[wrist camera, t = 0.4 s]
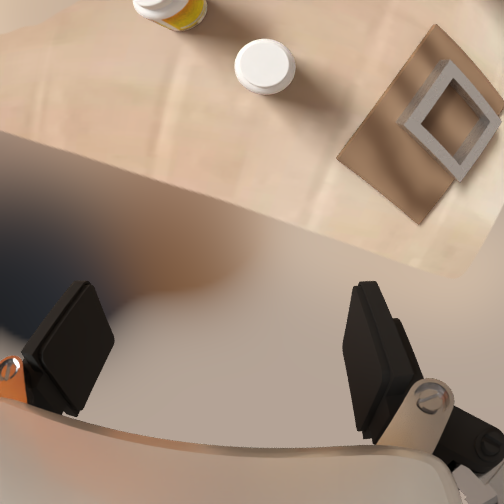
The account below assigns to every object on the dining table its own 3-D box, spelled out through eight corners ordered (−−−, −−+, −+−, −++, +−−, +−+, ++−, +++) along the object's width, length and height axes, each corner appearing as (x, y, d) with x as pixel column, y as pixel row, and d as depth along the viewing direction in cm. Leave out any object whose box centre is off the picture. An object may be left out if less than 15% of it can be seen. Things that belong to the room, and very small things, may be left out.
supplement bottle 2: (300, 63, 29) (311, 53, 20) (275, 102, 31) (277, 107, 23) (256, 40, 28) (251, 22, 19) (232, 79, 30) (217, 76, 22)
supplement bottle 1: (214, -7, 25) (192, -38, 16) (200, 35, 28) (172, 17, 19) (168, -12, 24) (133, -39, 15) (154, 29, 27) (114, 13, 18)
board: (433, 25, 24) (436, 24, 23) (501, 102, 27) (505, 103, 26) (336, 158, 34) (337, 159, 33) (415, 221, 37) (418, 224, 36)
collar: (439, 59, 25) (450, 59, 23) (490, 118, 28) (501, 121, 25) (395, 122, 30) (403, 125, 28) (450, 176, 32) (460, 182, 30)
